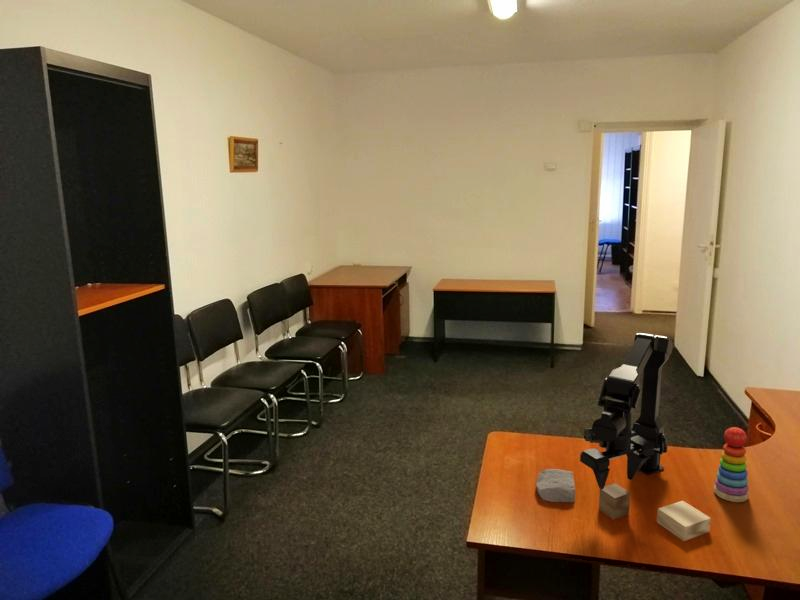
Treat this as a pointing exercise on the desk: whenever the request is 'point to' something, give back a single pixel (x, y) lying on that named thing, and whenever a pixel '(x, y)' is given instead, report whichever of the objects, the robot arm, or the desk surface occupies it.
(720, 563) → the desk surface
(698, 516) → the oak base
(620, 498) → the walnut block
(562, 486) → the stone block
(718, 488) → the stacking toy
